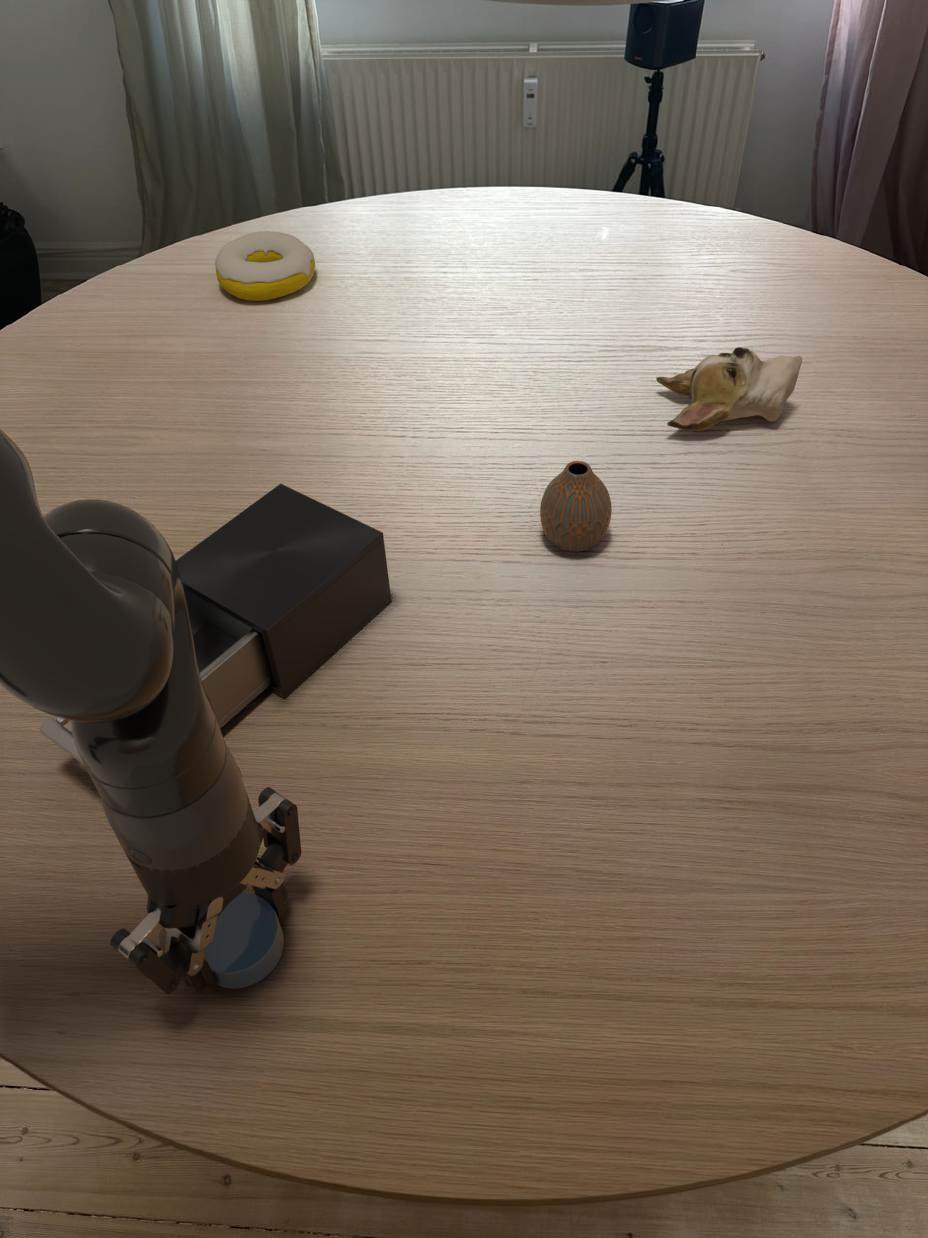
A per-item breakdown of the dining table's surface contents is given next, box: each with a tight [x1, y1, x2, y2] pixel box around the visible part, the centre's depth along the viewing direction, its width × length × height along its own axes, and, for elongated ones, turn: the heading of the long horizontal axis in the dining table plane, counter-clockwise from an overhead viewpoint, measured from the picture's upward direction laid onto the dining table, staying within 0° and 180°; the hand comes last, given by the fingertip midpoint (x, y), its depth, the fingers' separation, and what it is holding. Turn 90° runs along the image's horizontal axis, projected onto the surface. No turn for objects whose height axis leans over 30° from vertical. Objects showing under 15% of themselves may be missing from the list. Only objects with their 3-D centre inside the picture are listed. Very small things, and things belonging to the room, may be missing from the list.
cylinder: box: [204, 891, 285, 990], centre depth 68 cm, size 6×6×2 cm
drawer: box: [39, 588, 274, 766], centre depth 81 cm, size 18×11×7 cm, turn 143°
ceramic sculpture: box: [655, 346, 803, 432], centre depth 109 cm, size 11×9×15 cm
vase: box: [539, 460, 613, 553], centre depth 95 cm, size 7×7×9 cm
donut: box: [214, 230, 316, 302], centre depth 137 cm, size 14×14×5 cm
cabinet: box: [175, 483, 392, 700], centre depth 89 cm, size 15×13×9 cm
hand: (239, 943), depth 69 cm, fingers closed on cylinder, 6 cm apart
